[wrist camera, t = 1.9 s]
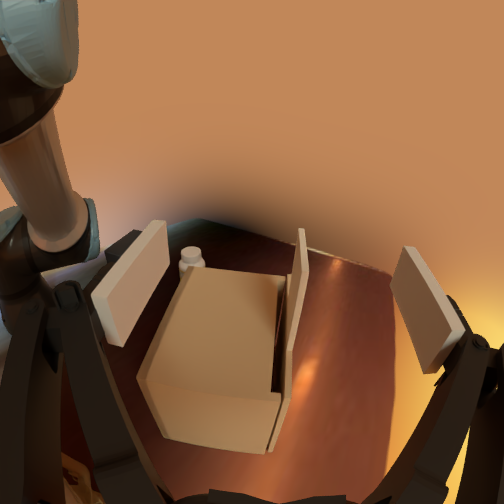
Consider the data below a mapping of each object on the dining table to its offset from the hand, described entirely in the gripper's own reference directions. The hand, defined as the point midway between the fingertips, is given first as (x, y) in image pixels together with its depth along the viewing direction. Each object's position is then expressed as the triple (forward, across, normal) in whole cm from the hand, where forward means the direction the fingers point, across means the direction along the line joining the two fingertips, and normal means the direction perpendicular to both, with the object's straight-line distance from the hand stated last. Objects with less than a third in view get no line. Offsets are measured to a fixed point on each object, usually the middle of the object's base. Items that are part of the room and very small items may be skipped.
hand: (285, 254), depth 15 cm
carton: (+11, -5, -32) cm, 34 cm away
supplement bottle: (+34, -16, -32) cm, 50 cm away
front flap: (+11, +2, -31) cm, 33 cm away
